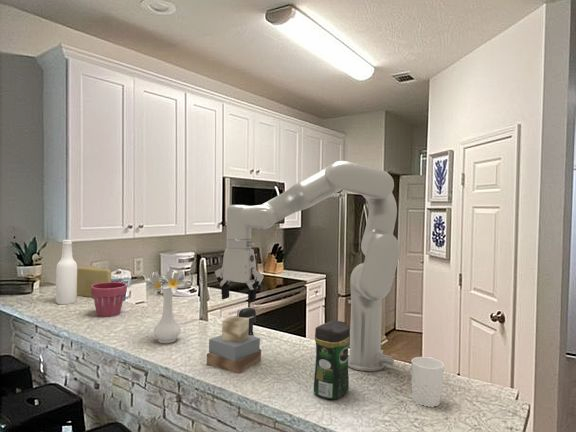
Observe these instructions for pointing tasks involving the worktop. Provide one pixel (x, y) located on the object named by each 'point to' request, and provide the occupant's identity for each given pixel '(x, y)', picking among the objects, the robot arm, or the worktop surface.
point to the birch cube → (235, 329)
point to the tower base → (233, 362)
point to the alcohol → (66, 276)
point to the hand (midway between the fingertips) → (238, 300)
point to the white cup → (427, 380)
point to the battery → (249, 314)
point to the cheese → (90, 279)
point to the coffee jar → (331, 360)
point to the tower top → (234, 347)
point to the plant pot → (108, 298)
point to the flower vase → (166, 304)
